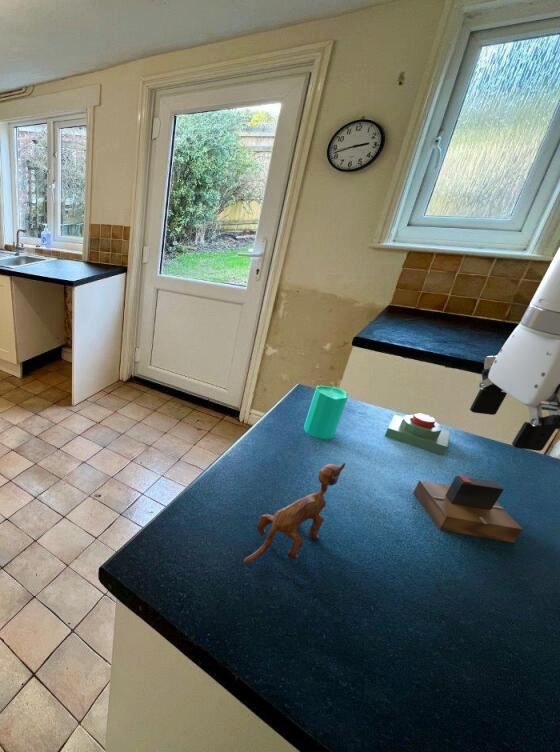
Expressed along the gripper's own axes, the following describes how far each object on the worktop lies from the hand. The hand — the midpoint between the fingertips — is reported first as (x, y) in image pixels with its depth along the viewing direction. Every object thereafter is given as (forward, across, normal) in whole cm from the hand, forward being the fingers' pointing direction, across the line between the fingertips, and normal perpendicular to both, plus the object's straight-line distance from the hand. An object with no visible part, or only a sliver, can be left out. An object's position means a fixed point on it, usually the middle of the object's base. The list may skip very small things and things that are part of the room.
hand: (502, 429), depth 63 cm
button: (+15, +26, -6) cm, 31 cm away
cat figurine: (+19, -14, +29) cm, 37 cm away
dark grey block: (+15, +1, -2) cm, 16 cm away
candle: (+19, +23, +14) cm, 33 cm away
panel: (+18, +1, -2) cm, 19 cm away
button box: (+18, +26, -6) cm, 33 cm away
